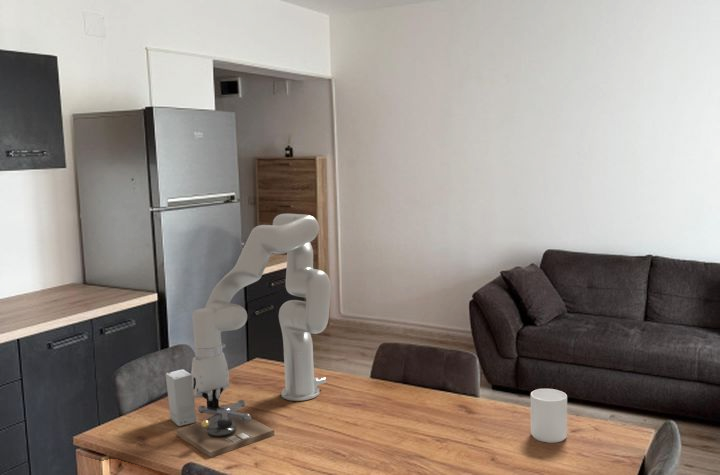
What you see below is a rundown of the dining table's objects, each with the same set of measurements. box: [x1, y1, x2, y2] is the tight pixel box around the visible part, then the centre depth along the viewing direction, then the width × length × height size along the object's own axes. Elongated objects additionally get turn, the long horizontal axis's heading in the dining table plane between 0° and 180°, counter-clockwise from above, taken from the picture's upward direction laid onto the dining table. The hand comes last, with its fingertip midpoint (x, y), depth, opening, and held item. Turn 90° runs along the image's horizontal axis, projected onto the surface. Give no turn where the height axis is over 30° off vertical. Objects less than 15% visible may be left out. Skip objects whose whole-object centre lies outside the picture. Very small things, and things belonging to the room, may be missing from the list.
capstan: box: [197, 399, 252, 437], centre depth 188 cm, size 18×18×6 cm
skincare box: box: [165, 369, 198, 427], centre depth 200 cm, size 8×6×15 cm
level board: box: [176, 410, 275, 458], centre depth 189 cm, size 20×20×2 cm
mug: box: [530, 388, 568, 444], centre depth 181 cm, size 10×12×12 cm
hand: (213, 411), depth 193 cm, fingers closed
